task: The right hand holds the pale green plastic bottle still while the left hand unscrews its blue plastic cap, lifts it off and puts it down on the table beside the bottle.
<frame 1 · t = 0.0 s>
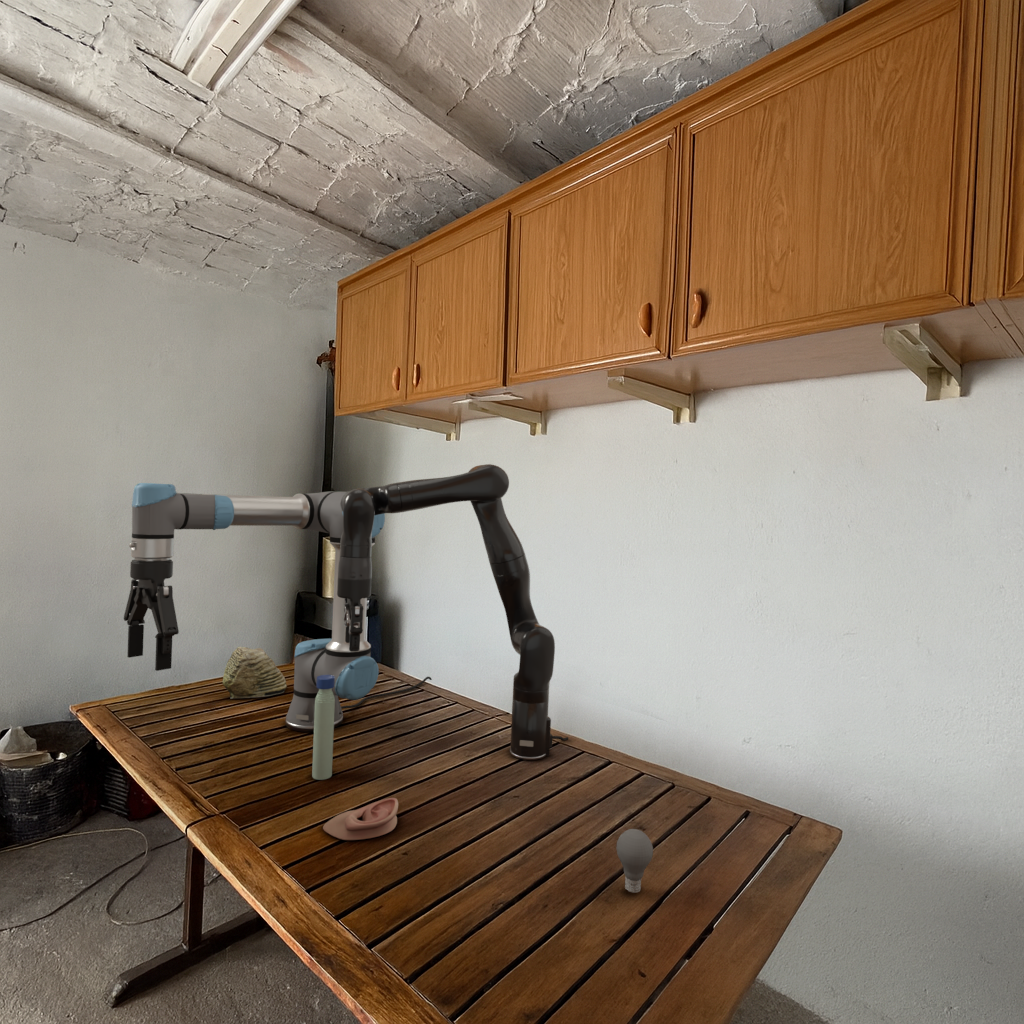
left hand: (148, 662, 129), 28 cm above the table, tool pointing down, fingers open, 13 cm apart
right hand: (352, 646, 145), 29 cm above the table, tool pointing down, fingers open, 8 cm apart
anatomical model: (361, 826, 122), on the table
light bulb: (632, 891, 106), on the table
fossil: (254, 694, 198), on the table
cap: (325, 678, 143), point 22 cm above the table, screwed on, not yet turned
bottle: (322, 775, 144), on the table
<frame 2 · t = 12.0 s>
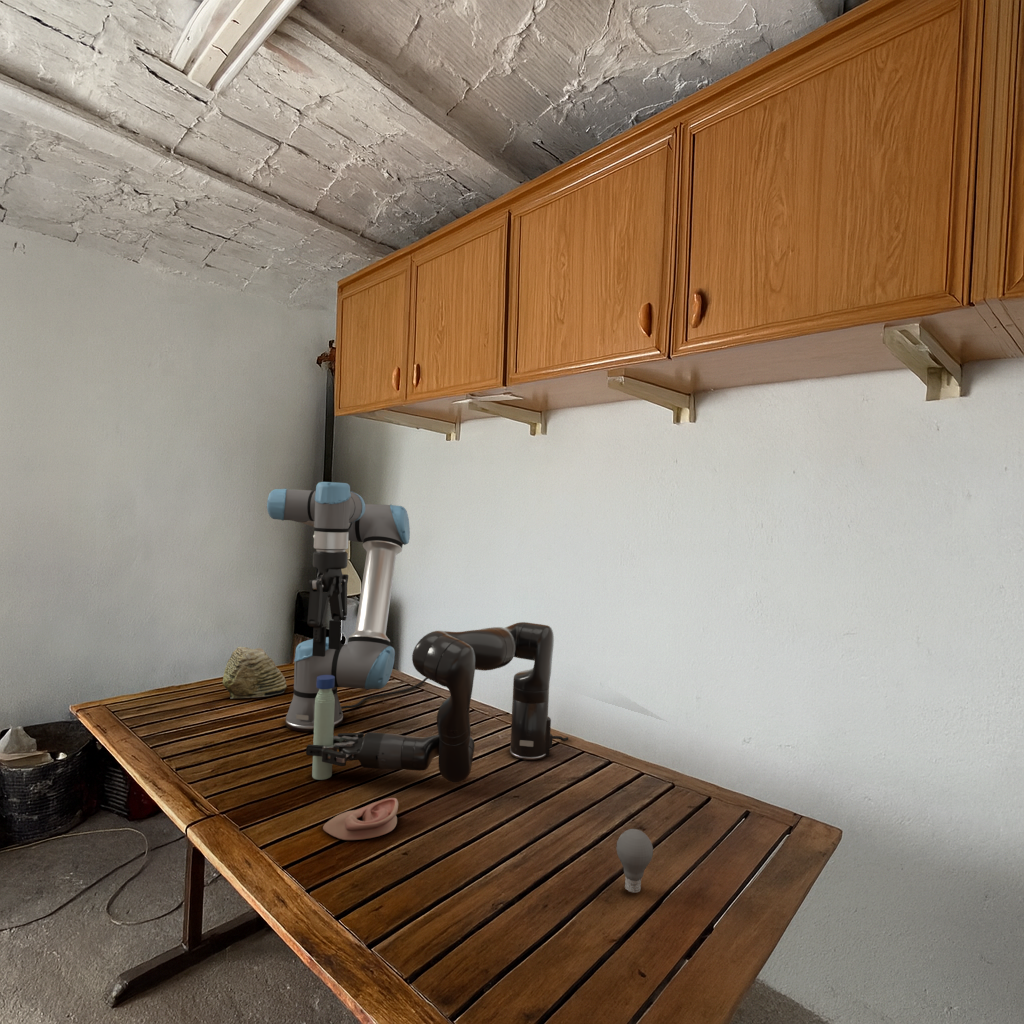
left hand: (326, 652, 143), 28 cm above the table, tool pointing down, fingers open, 6 cm apart
right hand: (311, 745, 144), 7 cm above the table, tool horizontal, fingers closed on bottle, 4 cm apart
bottle: (322, 775, 144), on the table, touching right hand
everything else where it was.
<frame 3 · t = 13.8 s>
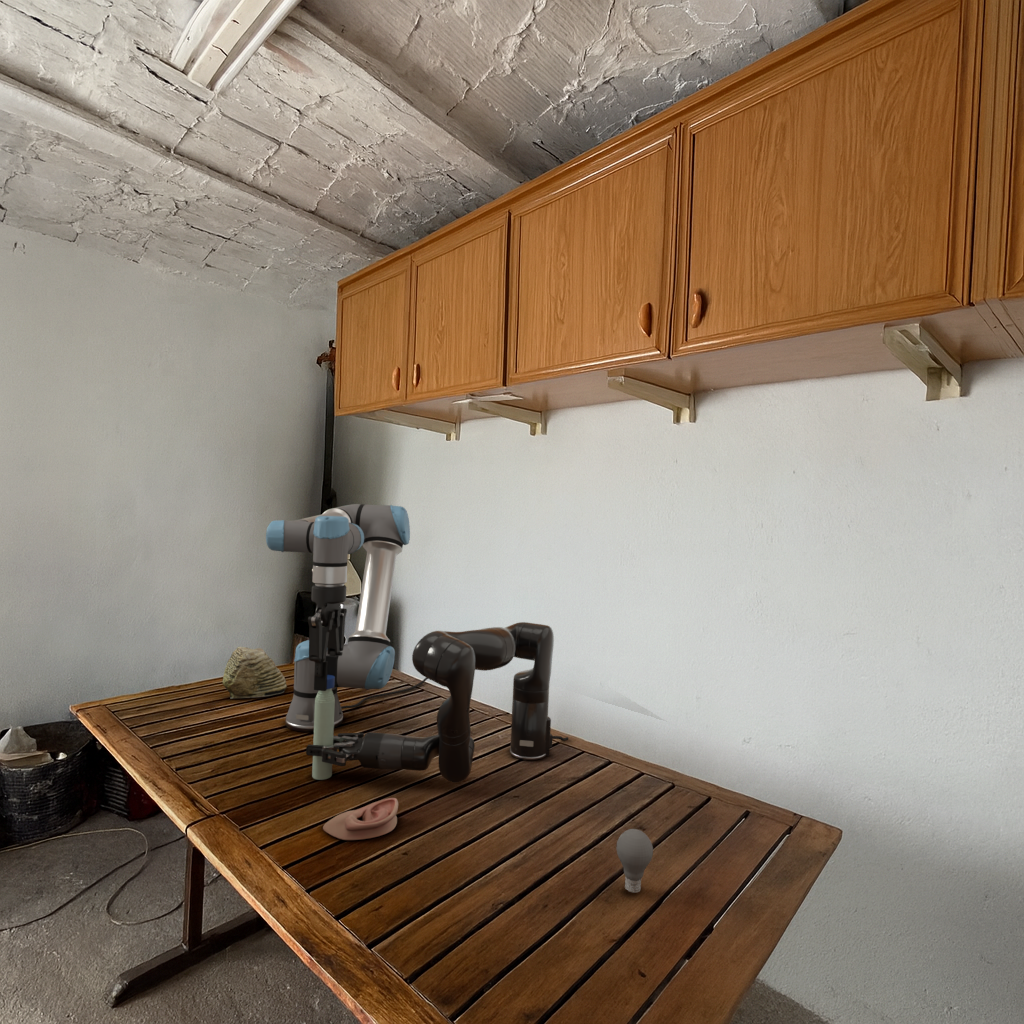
left hand: (325, 686, 143), 20 cm above the table, tool pointing down, fingers closed on cap, 4 cm apart
right hand: (311, 745, 144), 7 cm above the table, tool horizontal, fingers closed on bottle, 4 cm apart
cap: (325, 678, 143), point 22 cm above the table, screwed on, not yet turned, touching left hand
bottle: (322, 775, 144), on the table, touching right hand
everything else where it was.
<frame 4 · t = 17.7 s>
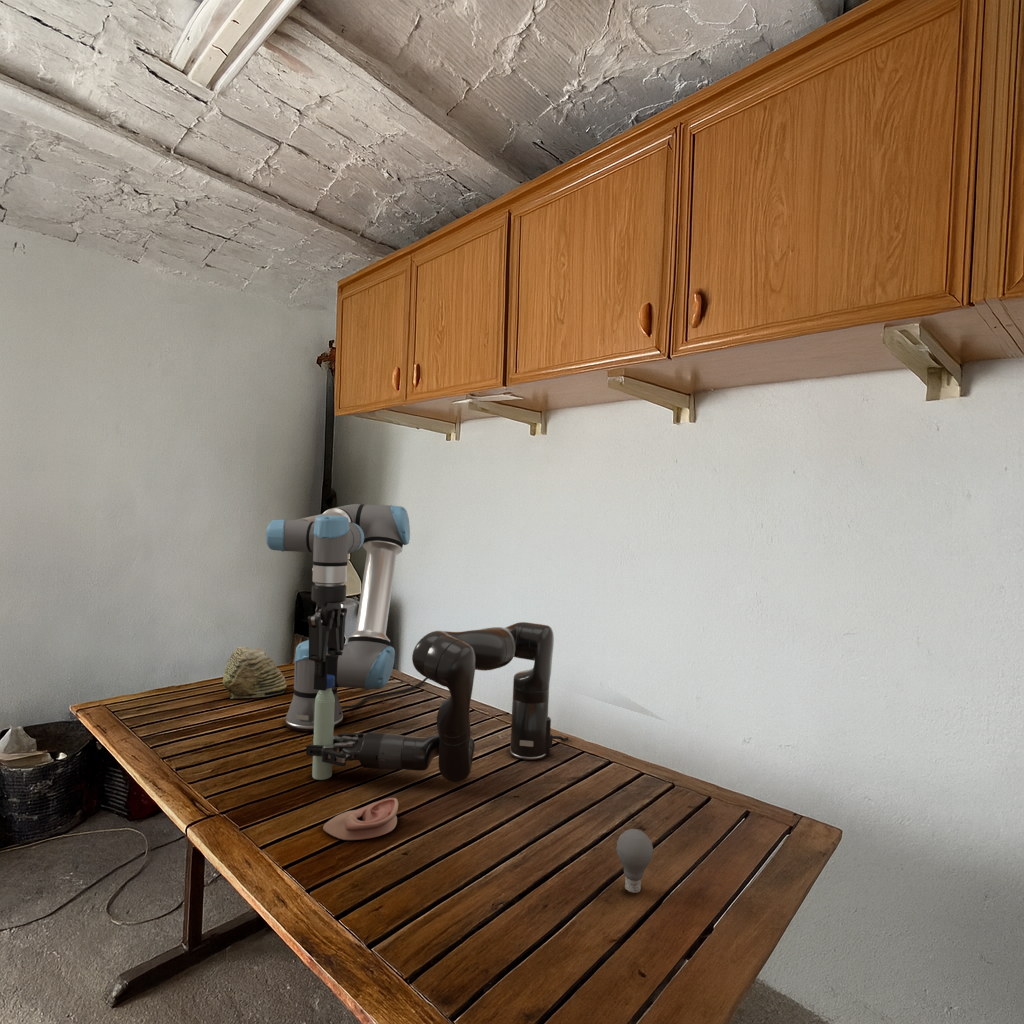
left hand: (325, 686, 143), 20 cm above the table, tool pointing down, fingers closed on cap, 4 cm apart
right hand: (311, 745, 144), 7 cm above the table, tool horizontal, fingers closed on bottle, 4 cm apart
cap: (325, 678, 143), point 22 cm above the table, turned 136° so far, risen 0.1 cm, still on its thread, touching left hand
bottle: (322, 775, 144), on the table, touching right hand
everything else where it was.
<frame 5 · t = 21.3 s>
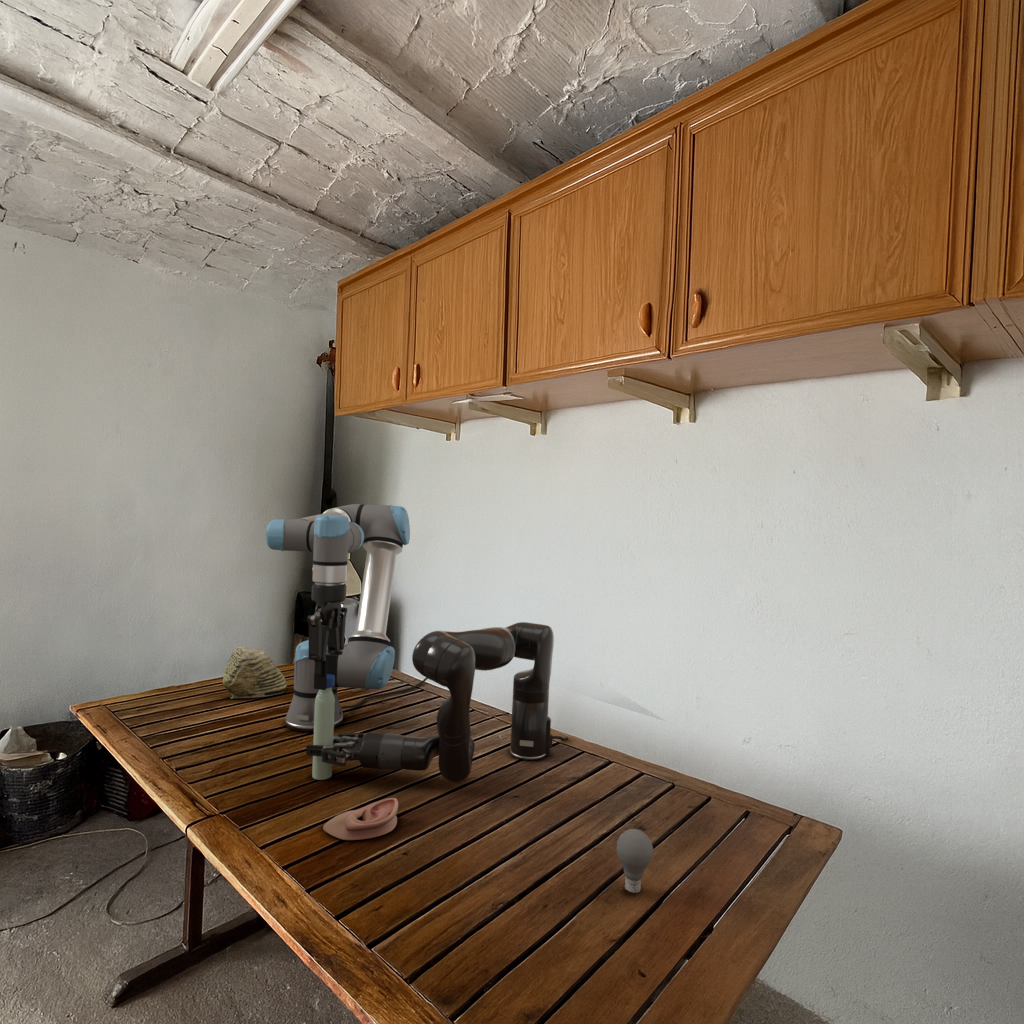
left hand: (325, 685, 143), 21 cm above the table, tool pointing down, fingers closed on cap, 4 cm apart
right hand: (311, 745, 144), 7 cm above the table, tool horizontal, fingers closed on bottle, 4 cm apart
cap: (325, 677, 143), point 22 cm above the table, turned 273° so far, risen 0.2 cm, still on its thread, touching left hand
bottle: (322, 775, 144), on the table, touching right hand
everything else where it was.
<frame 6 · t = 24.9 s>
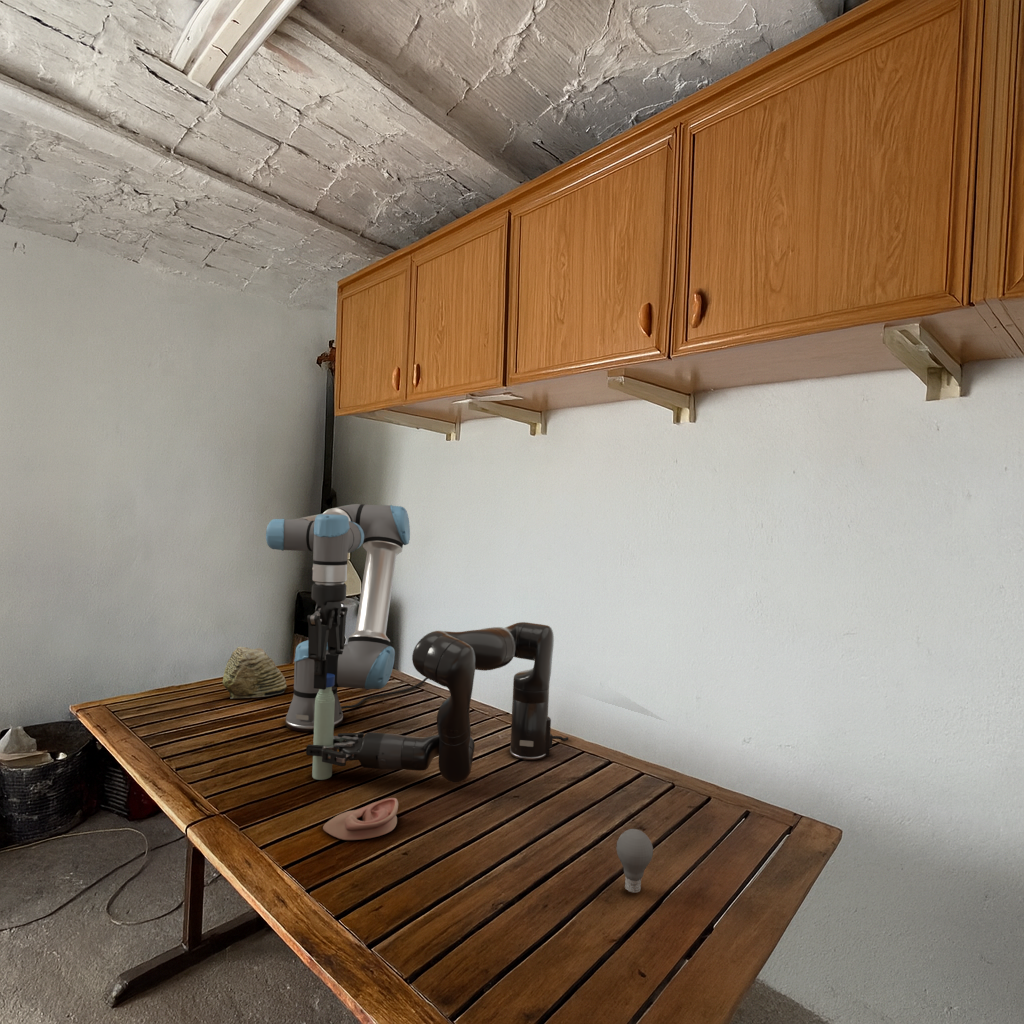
left hand: (325, 685, 143), 21 cm above the table, tool pointing down, fingers closed on cap, 4 cm apart
right hand: (311, 745, 144), 7 cm above the table, tool horizontal, fingers closed on bottle, 4 cm apart
cap: (325, 676, 143), point 23 cm above the table, turned 409° so far, risen 0.3 cm, still on its thread, touching left hand
bottle: (322, 775, 144), on the table, touching right hand
everything else where it was.
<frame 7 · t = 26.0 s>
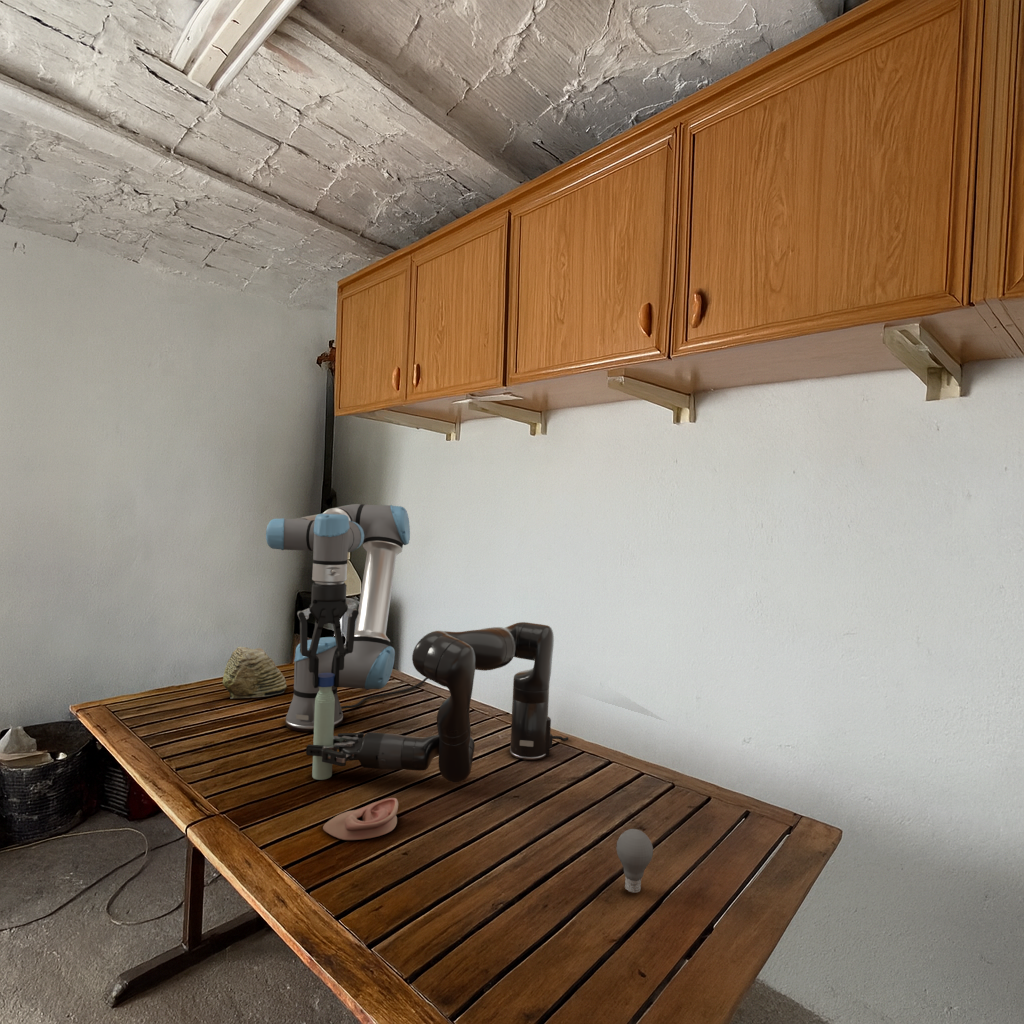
left hand: (325, 685, 143), 21 cm above the table, tool pointing down, fingers closed on cap, 4 cm apart
right hand: (311, 745, 144), 7 cm above the table, tool horizontal, fingers closed on bottle, 4 cm apart
cap: (325, 676, 143), point 23 cm above the table, off its thread, touching left hand
bottle: (322, 775, 144), on the table, touching right hand
everything else where it was.
when the left hand's fingers open (1 cm above the table, at t = 31.2 s): cap drops 2 cm, point 2 cm above the table.
when the right hand's fingers open (7 cm above the table, at t = 32.4 s): bottle stays where it is, on the table.
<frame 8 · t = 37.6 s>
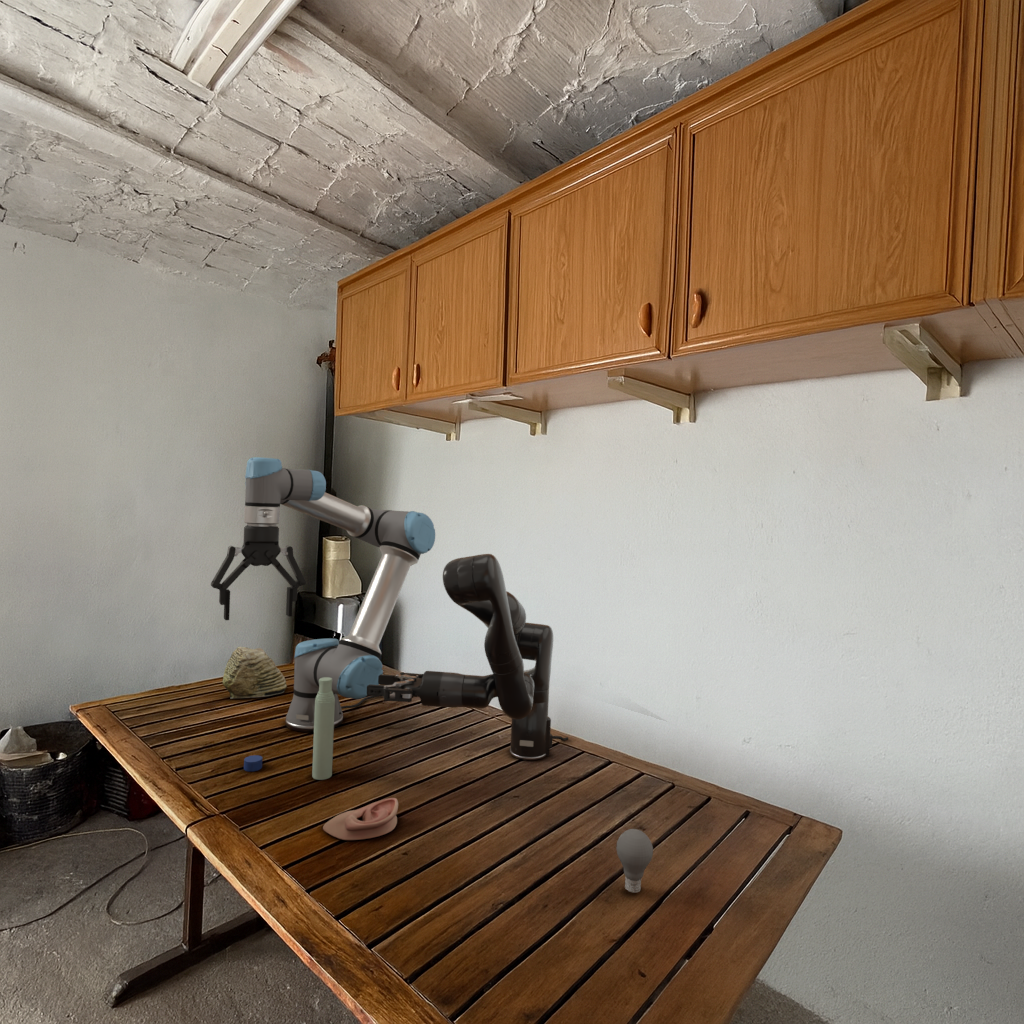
left hand: (258, 617, 146), 35 cm above the table, tool pointing down, fingers open, 13 cm apart
right hand: (373, 684, 142), 22 cm above the table, tool horizontal, fingers open, 8 cm apart
cap: (253, 759, 146), point 2 cm above the table, off its thread
bottle: (322, 775, 144), on the table
everything else where it was.
at the end: cap came off its thread; cap point 1.9 cm above the table; the left hand is holding nothing; the right hand is holding nothing; bottle tilted 0°; bottle moved 0.0 cm from its start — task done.
